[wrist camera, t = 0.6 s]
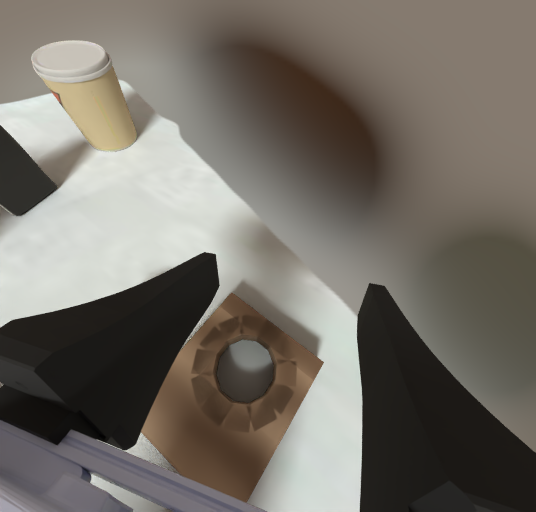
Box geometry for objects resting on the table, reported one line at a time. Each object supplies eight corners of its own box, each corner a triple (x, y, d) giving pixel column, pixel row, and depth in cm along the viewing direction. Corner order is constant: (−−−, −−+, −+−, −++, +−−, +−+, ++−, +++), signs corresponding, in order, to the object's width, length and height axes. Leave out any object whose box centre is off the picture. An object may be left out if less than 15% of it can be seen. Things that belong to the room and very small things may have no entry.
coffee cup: (91, 122, 43) (40, 37, 33) (144, 122, 44) (113, 40, 34) (79, 156, 39) (16, 70, 28) (139, 154, 40) (100, 72, 29)
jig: (233, 510, 20) (232, 528, 17) (138, 411, 23) (124, 414, 20) (316, 364, 26) (323, 362, 23) (233, 300, 29) (231, 292, 26)
